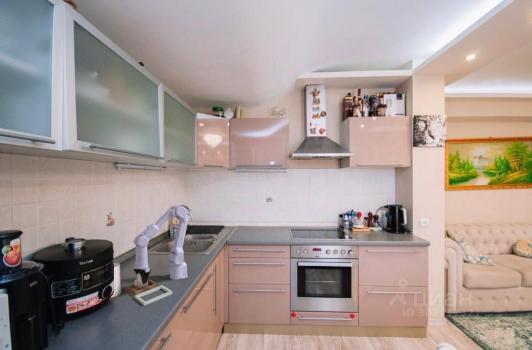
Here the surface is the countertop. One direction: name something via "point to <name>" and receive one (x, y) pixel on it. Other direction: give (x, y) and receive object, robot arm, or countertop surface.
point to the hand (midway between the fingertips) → (142, 281)
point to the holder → (135, 290)
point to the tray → (153, 298)
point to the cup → (116, 280)
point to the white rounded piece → (140, 282)
